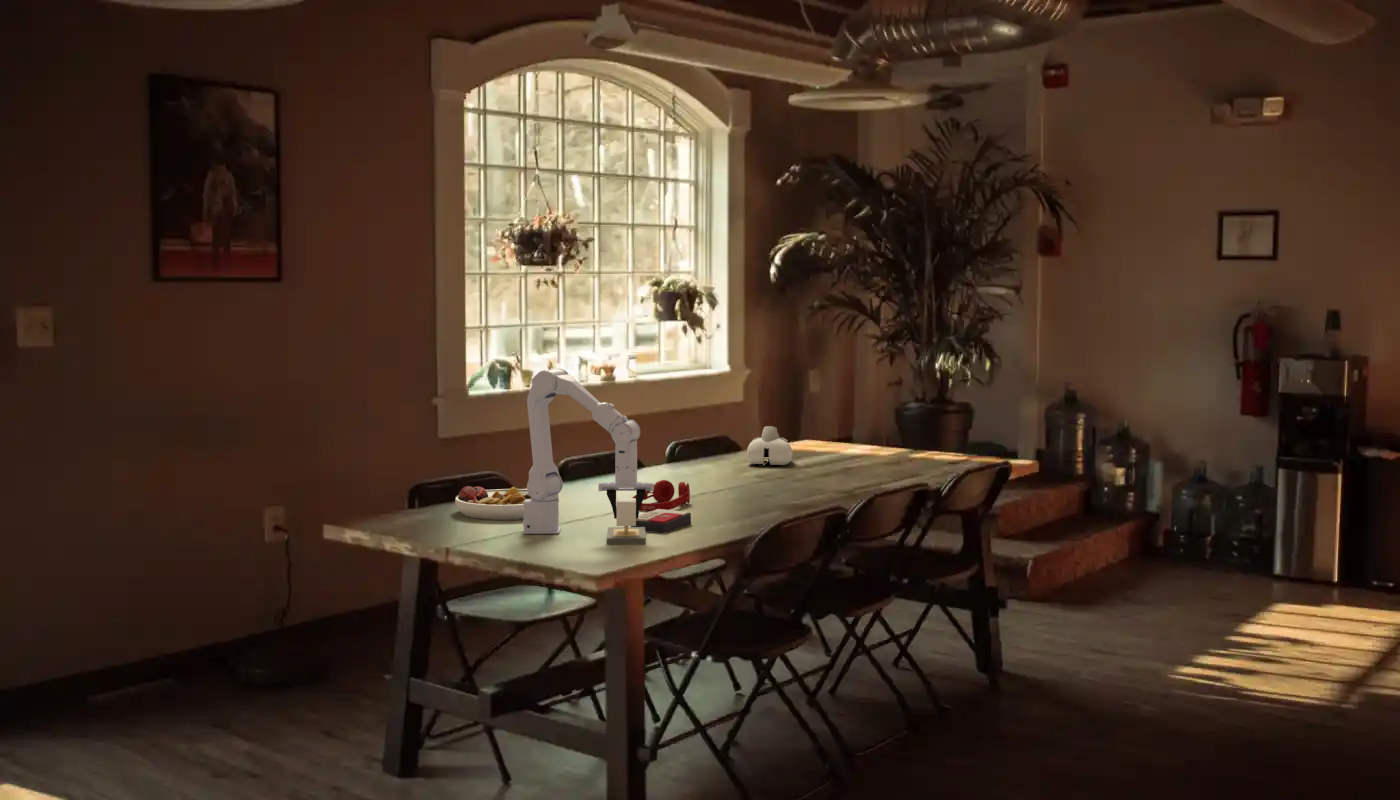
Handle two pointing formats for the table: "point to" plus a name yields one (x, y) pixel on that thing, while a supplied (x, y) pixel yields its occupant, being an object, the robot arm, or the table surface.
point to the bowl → (492, 503)
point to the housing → (626, 511)
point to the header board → (626, 535)
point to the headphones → (666, 496)
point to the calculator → (663, 520)
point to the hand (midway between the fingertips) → (626, 518)
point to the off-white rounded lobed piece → (769, 448)
